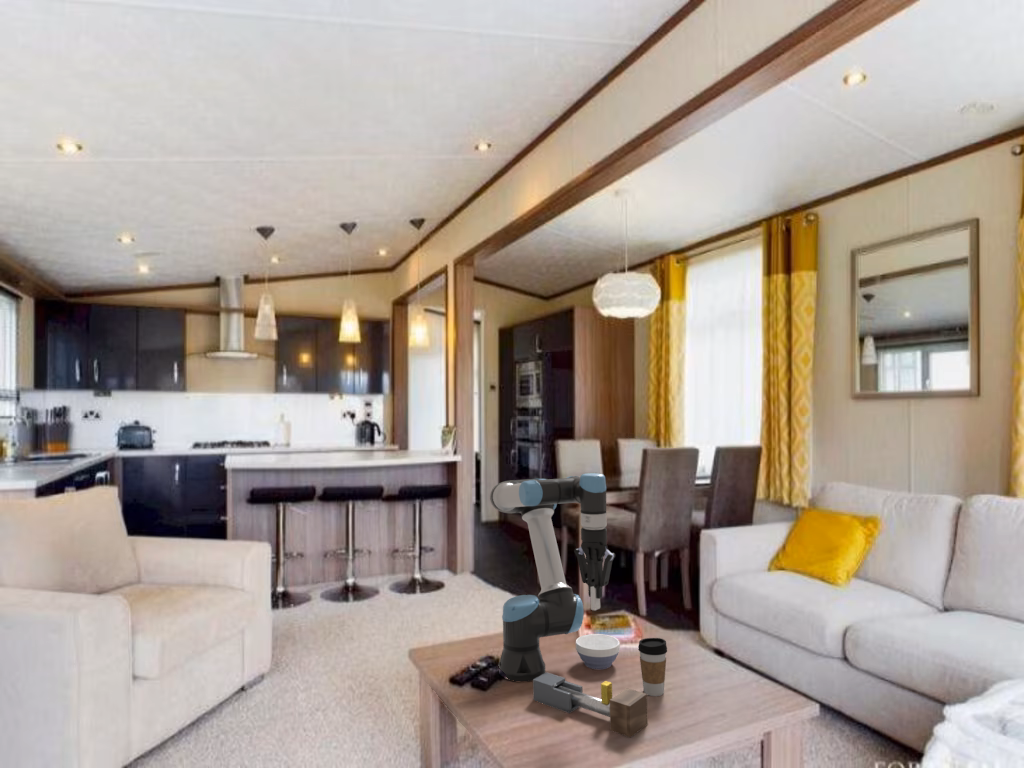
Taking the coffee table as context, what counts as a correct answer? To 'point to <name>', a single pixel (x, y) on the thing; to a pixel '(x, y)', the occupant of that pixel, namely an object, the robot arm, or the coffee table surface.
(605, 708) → the tube
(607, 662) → the bowl
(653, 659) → the coffee cup
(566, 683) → the sleeve
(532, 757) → the coffee table surface
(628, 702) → the socket
